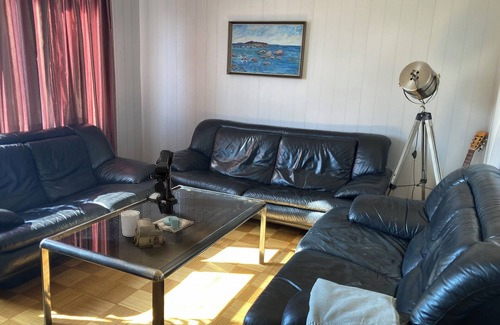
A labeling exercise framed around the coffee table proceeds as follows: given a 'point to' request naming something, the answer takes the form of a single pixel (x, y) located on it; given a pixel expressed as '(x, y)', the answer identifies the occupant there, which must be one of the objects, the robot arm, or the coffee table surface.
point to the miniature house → (148, 234)
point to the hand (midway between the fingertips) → (161, 213)
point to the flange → (172, 221)
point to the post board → (163, 226)
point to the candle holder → (129, 222)
